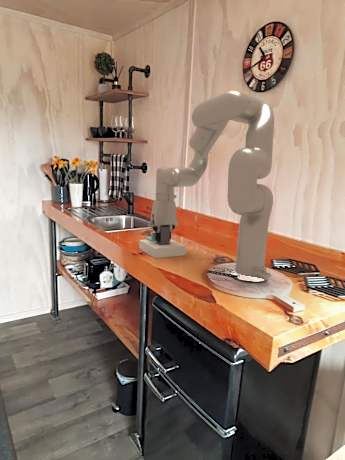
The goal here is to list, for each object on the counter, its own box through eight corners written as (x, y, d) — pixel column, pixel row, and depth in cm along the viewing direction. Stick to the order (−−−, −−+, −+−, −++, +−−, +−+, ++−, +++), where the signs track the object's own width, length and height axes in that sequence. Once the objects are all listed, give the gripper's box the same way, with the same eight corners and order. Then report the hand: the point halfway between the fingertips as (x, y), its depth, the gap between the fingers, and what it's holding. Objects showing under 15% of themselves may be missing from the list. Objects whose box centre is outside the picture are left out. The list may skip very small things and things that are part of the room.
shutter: (165, 240, 141) (165, 232, 141) (151, 241, 138) (151, 233, 137) (158, 236, 147) (158, 229, 147) (144, 237, 144) (144, 230, 143)
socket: (185, 255, 134) (185, 245, 133) (155, 258, 127) (155, 248, 127) (167, 246, 148) (167, 237, 147) (139, 248, 141) (139, 240, 140)
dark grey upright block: (169, 245, 135) (170, 226, 134) (160, 246, 133) (161, 227, 132) (164, 243, 139) (165, 225, 137) (156, 244, 137) (157, 225, 135)
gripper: (177, 196, 139) (176, 238, 143) (142, 197, 131) (141, 240, 135) (186, 198, 133) (184, 241, 137) (150, 199, 125) (148, 244, 129)
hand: (163, 240), depth 136 cm, fingers closed on dark grey upright block, 4 cm apart
